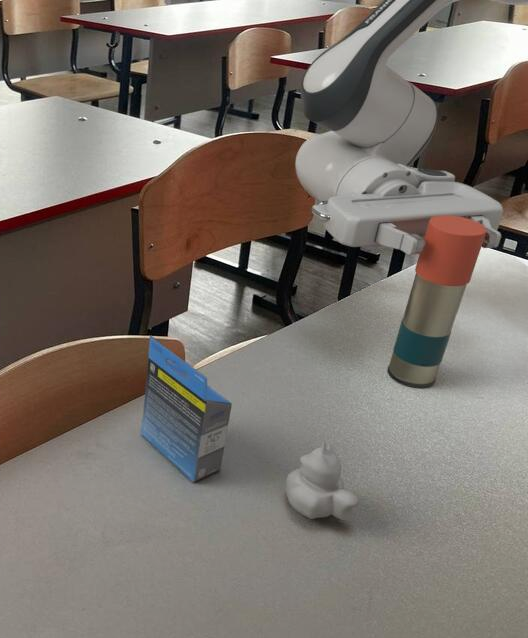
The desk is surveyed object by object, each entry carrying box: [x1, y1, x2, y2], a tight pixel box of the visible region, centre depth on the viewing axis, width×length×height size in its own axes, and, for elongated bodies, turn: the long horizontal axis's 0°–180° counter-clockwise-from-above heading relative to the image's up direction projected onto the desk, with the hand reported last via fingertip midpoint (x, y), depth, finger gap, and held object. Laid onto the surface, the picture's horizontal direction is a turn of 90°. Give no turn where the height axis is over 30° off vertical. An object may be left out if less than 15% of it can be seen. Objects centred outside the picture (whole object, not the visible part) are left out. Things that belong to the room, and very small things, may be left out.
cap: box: [414, 215, 487, 286], centre depth 83 cm, size 6×6×6 cm
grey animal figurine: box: [285, 440, 359, 521], centre depth 69 cm, size 5×7×8 cm
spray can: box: [387, 272, 468, 389], centre depth 88 cm, size 5×5×14 cm
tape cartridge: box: [140, 335, 233, 483], centre depth 75 cm, size 9×4×12 cm, turn 31°
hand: (456, 244), depth 82 cm, fingers open, 8 cm apart
